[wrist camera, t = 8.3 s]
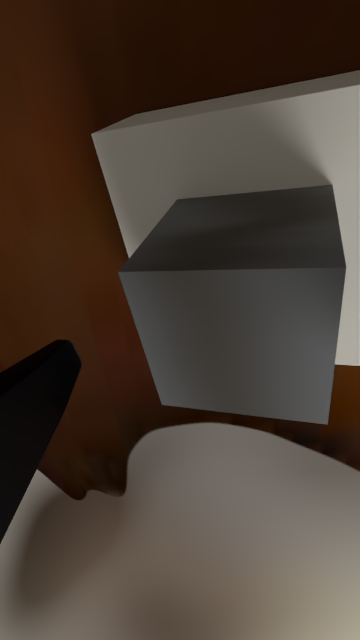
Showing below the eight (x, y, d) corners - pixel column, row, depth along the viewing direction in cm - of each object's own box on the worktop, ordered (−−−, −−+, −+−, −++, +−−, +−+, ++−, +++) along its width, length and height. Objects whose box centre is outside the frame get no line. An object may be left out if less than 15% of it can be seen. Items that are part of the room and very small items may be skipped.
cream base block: (414, 59, 11) (453, 67, 8) (370, 309, 17) (383, 367, 14) (135, 114, 14) (91, 134, 11) (179, 306, 20) (157, 352, 17)
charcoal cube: (332, 184, 10) (346, 267, 7) (321, 316, 13) (327, 424, 10) (176, 199, 12) (118, 271, 8) (198, 313, 15) (162, 404, 11)
